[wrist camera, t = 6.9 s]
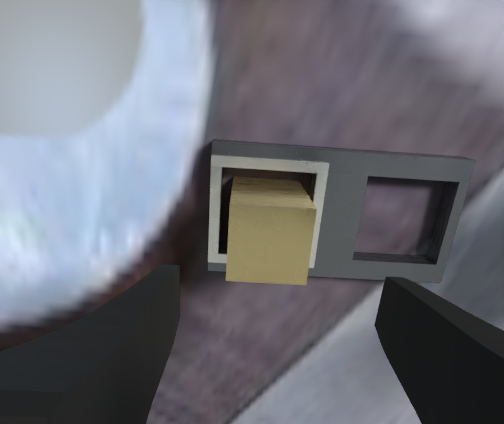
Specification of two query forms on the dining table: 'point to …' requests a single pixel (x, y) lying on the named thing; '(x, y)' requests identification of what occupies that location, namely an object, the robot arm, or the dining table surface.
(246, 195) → the brass block
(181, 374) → the dining table surface
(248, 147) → the grey double window frame
